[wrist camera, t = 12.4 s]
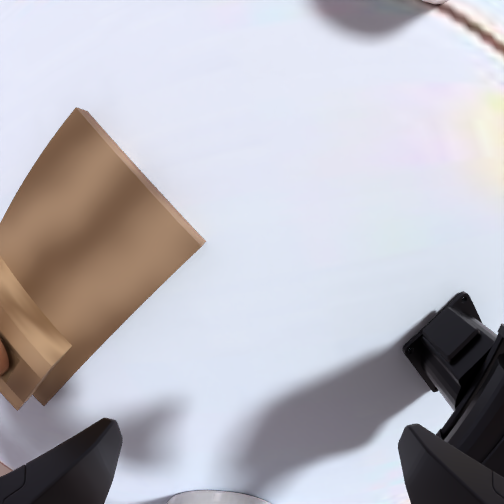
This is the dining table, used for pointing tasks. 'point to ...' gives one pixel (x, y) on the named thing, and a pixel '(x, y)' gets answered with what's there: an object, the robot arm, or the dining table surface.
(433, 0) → the white cup
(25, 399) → the wooden socket base
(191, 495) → the utensil holder
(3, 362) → the plug
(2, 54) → the dining table surface
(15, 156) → the dining table surface
